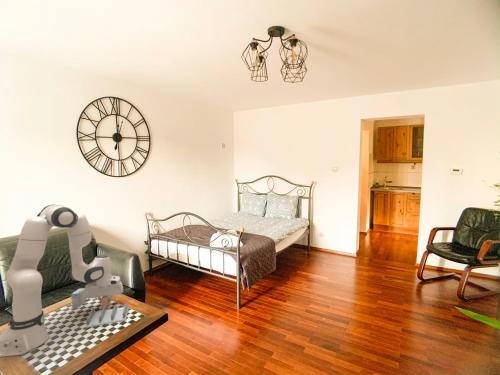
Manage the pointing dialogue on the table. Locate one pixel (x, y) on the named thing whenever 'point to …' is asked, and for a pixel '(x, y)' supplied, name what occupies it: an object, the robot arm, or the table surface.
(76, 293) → the medicine box
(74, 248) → the robot arm
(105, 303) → the block
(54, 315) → the table surface
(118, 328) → the table surface
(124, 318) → the rack
